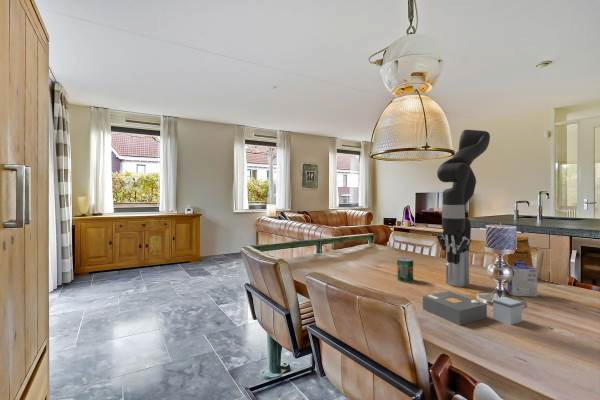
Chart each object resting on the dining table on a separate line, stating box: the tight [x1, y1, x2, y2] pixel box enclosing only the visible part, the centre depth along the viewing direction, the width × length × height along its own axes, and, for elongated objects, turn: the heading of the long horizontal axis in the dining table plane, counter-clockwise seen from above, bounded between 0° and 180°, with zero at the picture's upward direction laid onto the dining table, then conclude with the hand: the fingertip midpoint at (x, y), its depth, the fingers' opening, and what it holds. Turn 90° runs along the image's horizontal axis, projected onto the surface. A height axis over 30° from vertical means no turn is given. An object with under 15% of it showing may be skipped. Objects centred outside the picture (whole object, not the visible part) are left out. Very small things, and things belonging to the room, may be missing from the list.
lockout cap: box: [492, 296, 523, 326], centre depth 105 cm, size 6×6×7 cm
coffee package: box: [504, 236, 533, 267], centre depth 157 cm, size 10×12×22 cm
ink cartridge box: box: [506, 261, 538, 297], centre depth 131 cm, size 10×6×14 cm, turn 78°
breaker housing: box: [422, 291, 488, 326], centre depth 111 cm, size 16×14×6 cm
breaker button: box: [444, 298, 463, 303], centre depth 111 cm, size 4×4×5 cm
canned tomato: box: [396, 257, 414, 283], centre depth 155 cm, size 8×8×11 cm
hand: (453, 262), depth 111 cm, fingers closed
